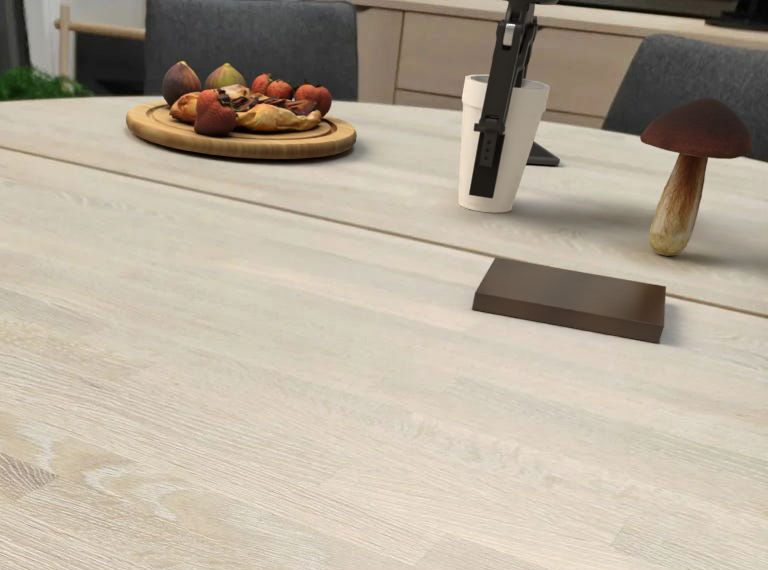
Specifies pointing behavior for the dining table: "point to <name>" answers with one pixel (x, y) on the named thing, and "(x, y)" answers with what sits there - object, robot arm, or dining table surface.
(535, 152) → the cell phone
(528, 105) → the foam cup
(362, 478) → the dining table surface
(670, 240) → the decorative mushroom
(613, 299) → the walnut board
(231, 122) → the wooden plate
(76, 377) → the dining table surface
